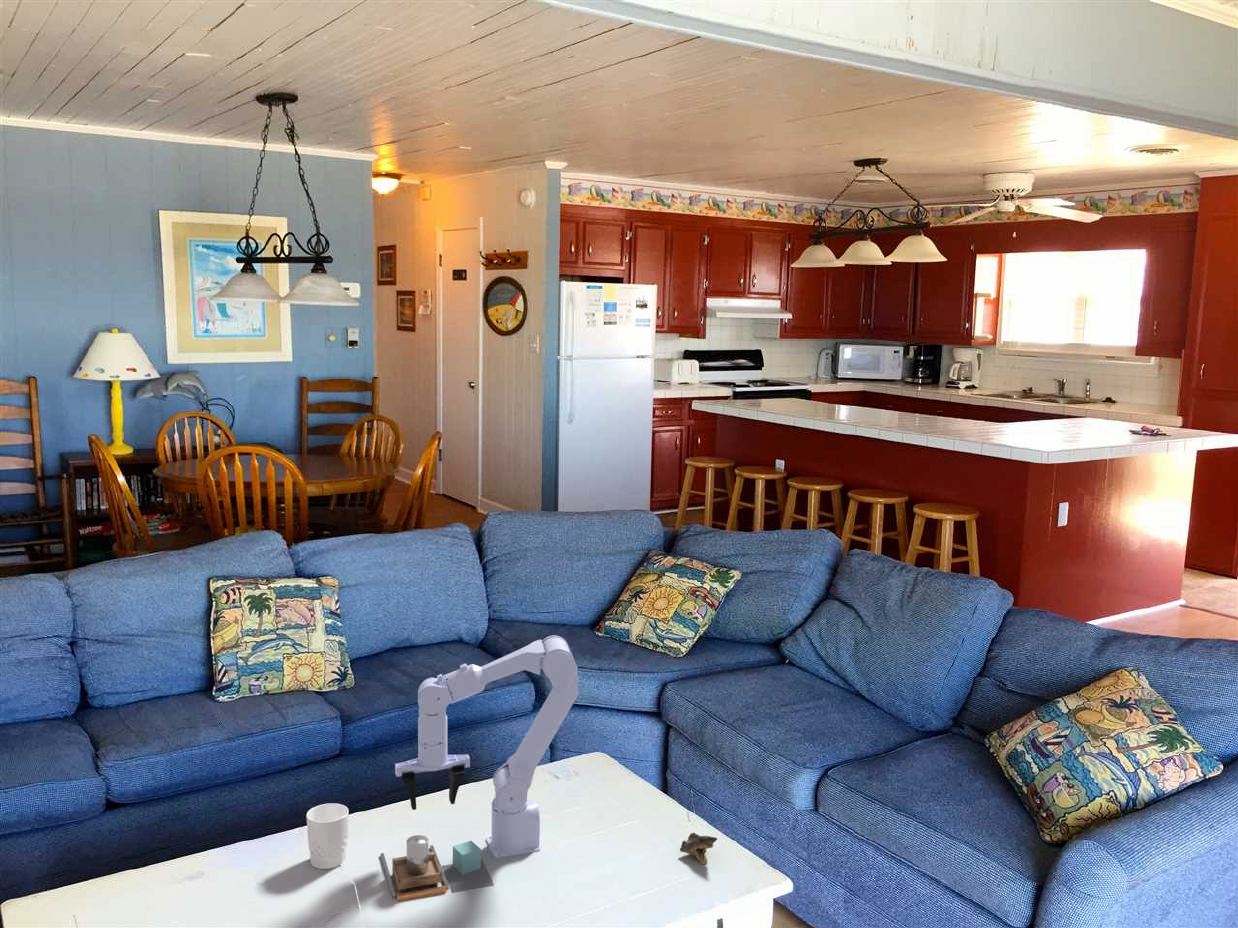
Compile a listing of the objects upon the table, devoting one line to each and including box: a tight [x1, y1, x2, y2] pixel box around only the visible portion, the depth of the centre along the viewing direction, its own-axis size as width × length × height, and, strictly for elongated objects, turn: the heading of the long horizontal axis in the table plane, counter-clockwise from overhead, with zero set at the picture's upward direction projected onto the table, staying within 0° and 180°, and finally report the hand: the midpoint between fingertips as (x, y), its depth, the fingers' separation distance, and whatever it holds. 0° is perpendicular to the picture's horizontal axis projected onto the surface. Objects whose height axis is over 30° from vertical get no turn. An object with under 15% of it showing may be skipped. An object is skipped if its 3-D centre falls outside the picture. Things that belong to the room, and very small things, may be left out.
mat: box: [441, 858, 495, 894], centre depth 194 cm, size 8×10×1 cm
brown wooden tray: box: [391, 851, 443, 893], centre depth 191 cm, size 8×8×4 cm
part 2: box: [452, 840, 482, 875], centre depth 196 cm, size 4×4×4 cm
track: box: [379, 845, 450, 902], centre depth 194 cm, size 10×17×1 cm, turn 21°
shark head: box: [679, 832, 718, 865], centre depth 202 cm, size 8×6×7 cm
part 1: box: [406, 834, 429, 876], centre depth 190 cm, size 4×4×6 cm
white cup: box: [305, 802, 349, 870], centre depth 198 cm, size 8×8×10 cm
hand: (432, 804), depth 201 cm, fingers open, 7 cm apart
